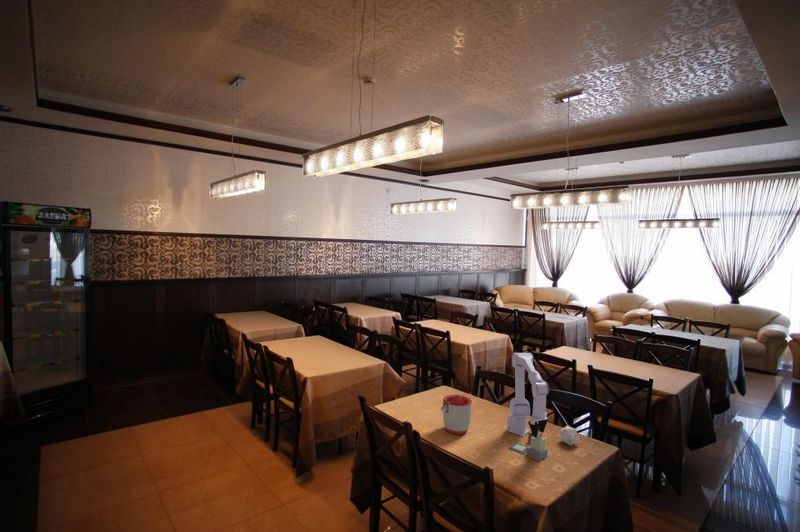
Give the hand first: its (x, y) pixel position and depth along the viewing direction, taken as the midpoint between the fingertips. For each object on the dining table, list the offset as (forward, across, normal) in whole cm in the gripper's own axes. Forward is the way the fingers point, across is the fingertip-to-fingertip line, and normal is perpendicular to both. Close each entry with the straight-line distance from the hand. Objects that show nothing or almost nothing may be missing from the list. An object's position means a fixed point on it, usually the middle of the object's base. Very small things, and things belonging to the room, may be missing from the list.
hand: (537, 434), depth 191 cm
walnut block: (+10, +13, +7) cm, 18 cm away
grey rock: (+11, +25, -6) cm, 27 cm away
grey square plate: (+10, 0, +9) cm, 14 cm away
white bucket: (+11, -8, +43) cm, 45 cm away
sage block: (+7, 0, 0) cm, 7 cm away
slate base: (+11, 0, 0) cm, 11 cm away
